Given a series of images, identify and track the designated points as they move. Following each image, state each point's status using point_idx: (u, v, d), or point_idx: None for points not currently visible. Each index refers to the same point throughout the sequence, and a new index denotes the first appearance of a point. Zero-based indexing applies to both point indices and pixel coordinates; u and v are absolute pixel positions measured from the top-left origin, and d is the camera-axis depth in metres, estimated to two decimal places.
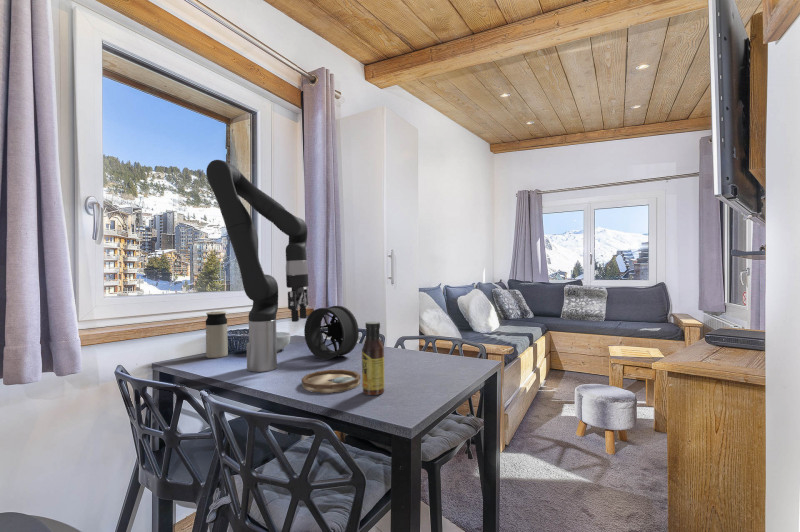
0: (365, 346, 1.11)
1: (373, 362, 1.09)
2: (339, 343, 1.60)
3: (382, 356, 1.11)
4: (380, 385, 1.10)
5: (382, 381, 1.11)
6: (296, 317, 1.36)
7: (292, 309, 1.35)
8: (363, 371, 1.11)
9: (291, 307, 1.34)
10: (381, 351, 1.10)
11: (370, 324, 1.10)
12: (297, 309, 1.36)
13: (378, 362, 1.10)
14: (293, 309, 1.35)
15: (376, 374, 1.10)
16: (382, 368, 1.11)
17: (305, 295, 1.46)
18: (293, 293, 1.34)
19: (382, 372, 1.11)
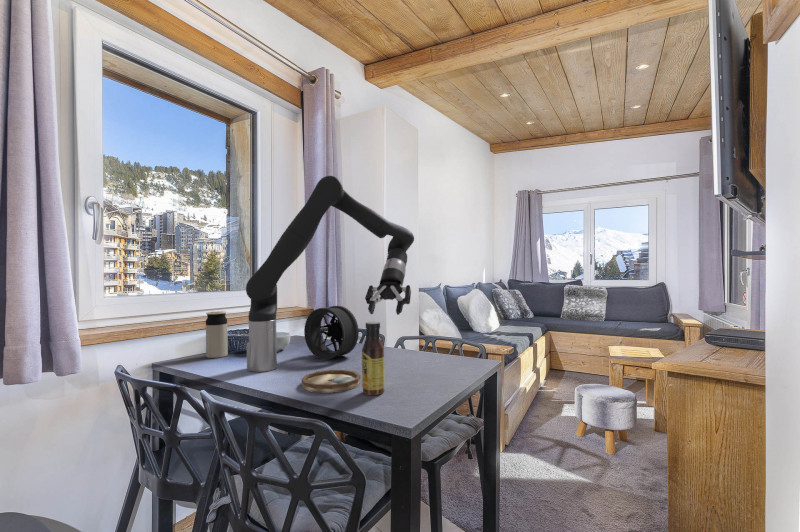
0: (365, 346, 1.11)
1: (373, 362, 1.09)
2: (339, 343, 1.60)
3: (382, 356, 1.11)
4: (380, 385, 1.10)
5: (382, 381, 1.11)
6: None
7: (406, 302, 1.25)
8: (363, 371, 1.11)
9: (408, 300, 1.25)
10: (381, 351, 1.10)
11: (370, 324, 1.10)
12: None
13: (378, 362, 1.10)
14: (406, 302, 1.25)
15: (376, 374, 1.10)
16: (382, 368, 1.11)
17: (372, 294, 1.31)
18: (410, 290, 1.29)
19: (382, 372, 1.11)
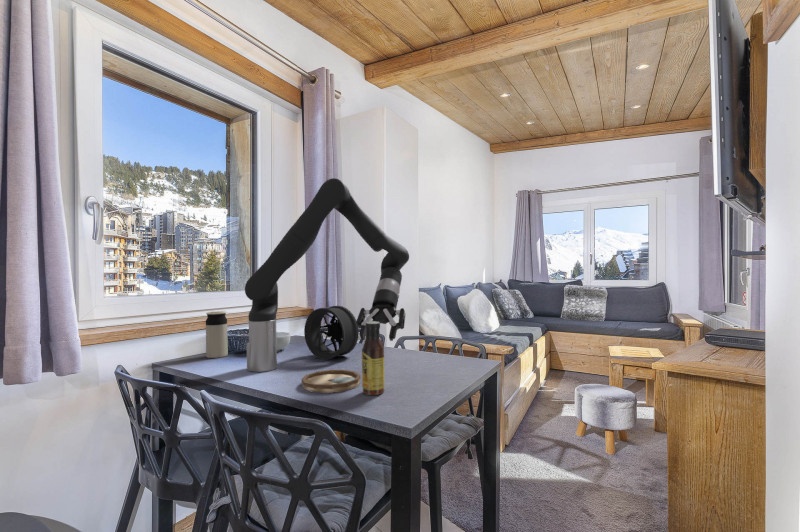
0: (365, 346, 1.11)
1: (373, 362, 1.09)
2: (339, 343, 1.60)
3: (382, 356, 1.11)
4: (380, 385, 1.10)
5: (382, 381, 1.11)
6: None
7: (399, 326, 1.17)
8: (363, 371, 1.11)
9: (402, 324, 1.17)
10: (381, 351, 1.10)
11: (370, 324, 1.10)
12: None
13: (378, 362, 1.10)
14: (400, 327, 1.17)
15: (376, 374, 1.10)
16: (382, 368, 1.11)
17: (364, 317, 1.23)
18: None
19: (382, 372, 1.11)
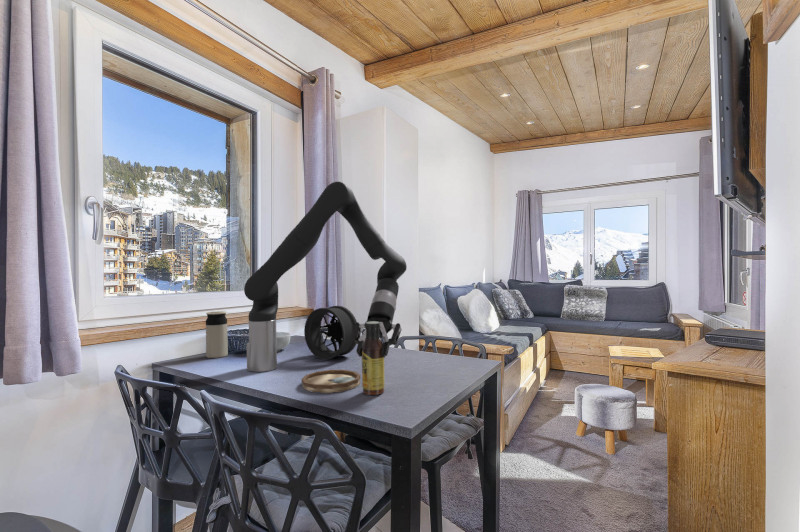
0: (365, 346, 1.11)
1: (373, 362, 1.09)
2: (339, 343, 1.60)
3: None
4: (380, 385, 1.10)
5: (382, 381, 1.11)
6: None
7: (392, 342, 1.12)
8: (363, 371, 1.11)
9: (395, 340, 1.13)
10: None
11: (370, 324, 1.10)
12: None
13: (378, 362, 1.10)
14: (392, 343, 1.13)
15: (376, 374, 1.09)
16: (382, 368, 1.11)
17: (360, 332, 1.18)
18: (401, 329, 1.16)
19: (382, 372, 1.11)
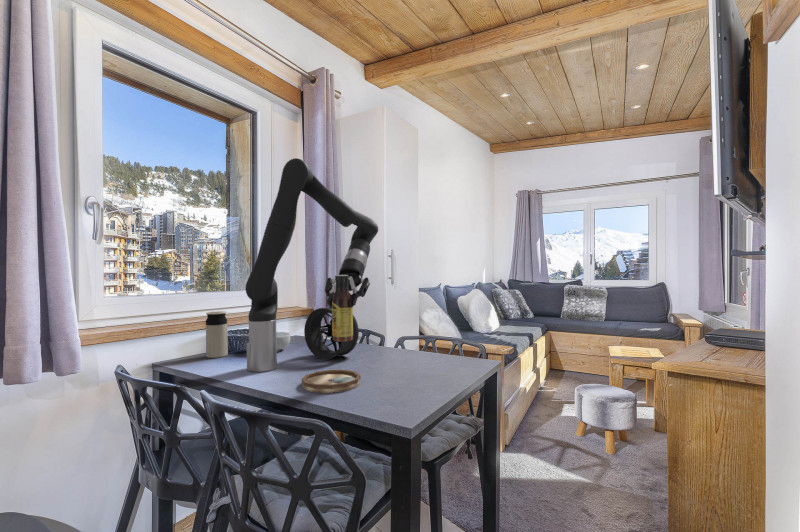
0: (334, 297, 1.19)
1: (341, 311, 1.18)
2: (339, 343, 1.60)
3: None
4: (348, 332, 1.19)
5: (350, 329, 1.20)
6: None
7: (360, 294, 1.21)
8: (333, 320, 1.20)
9: (363, 292, 1.21)
10: None
11: (339, 276, 1.19)
12: (356, 297, 1.22)
13: (346, 311, 1.18)
14: (360, 295, 1.21)
15: (345, 322, 1.18)
16: (350, 317, 1.20)
17: (332, 286, 1.27)
18: (369, 283, 1.25)
19: (350, 321, 1.20)
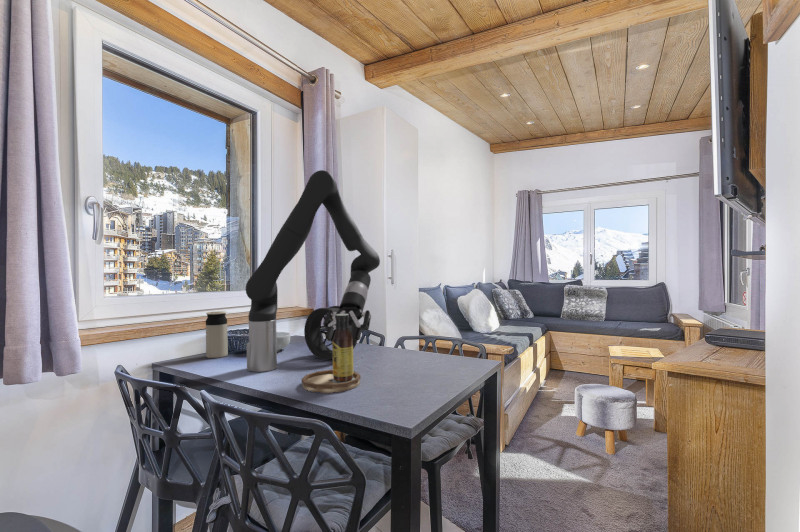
0: (335, 336, 1.20)
1: (342, 351, 1.18)
2: None
3: (351, 345, 1.20)
4: (349, 372, 1.19)
5: (351, 368, 1.20)
6: None
7: (364, 328, 1.21)
8: (333, 359, 1.20)
9: (367, 326, 1.22)
10: (349, 341, 1.19)
11: (339, 316, 1.19)
12: None
13: (346, 351, 1.19)
14: (364, 329, 1.21)
15: (345, 362, 1.19)
16: (351, 356, 1.20)
17: (332, 319, 1.27)
18: (370, 316, 1.25)
19: (351, 360, 1.20)
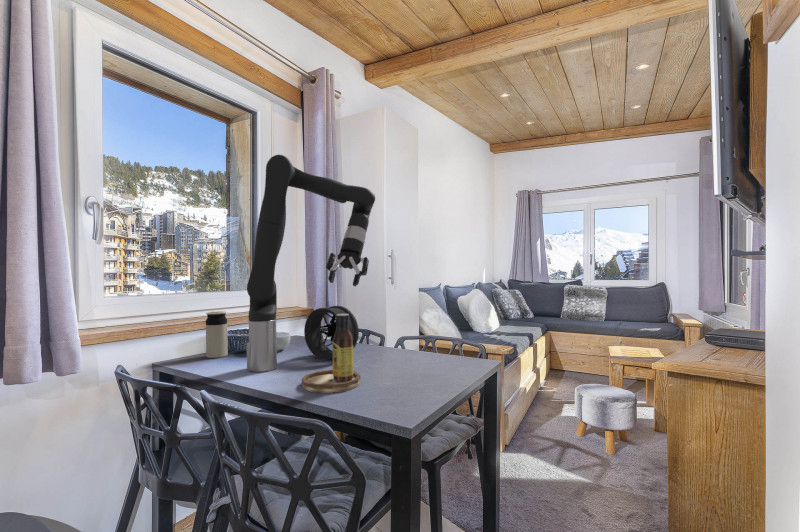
0: (335, 336, 1.20)
1: (342, 351, 1.18)
2: None
3: (351, 345, 1.20)
4: (349, 372, 1.19)
5: (351, 369, 1.20)
6: None
7: (362, 274, 1.37)
8: (333, 359, 1.20)
9: (365, 272, 1.37)
10: (350, 341, 1.20)
11: (339, 316, 1.19)
12: None
13: (347, 351, 1.19)
14: (362, 274, 1.37)
15: (345, 362, 1.19)
16: (351, 357, 1.20)
17: (333, 261, 1.42)
18: (368, 261, 1.39)
19: (351, 360, 1.20)
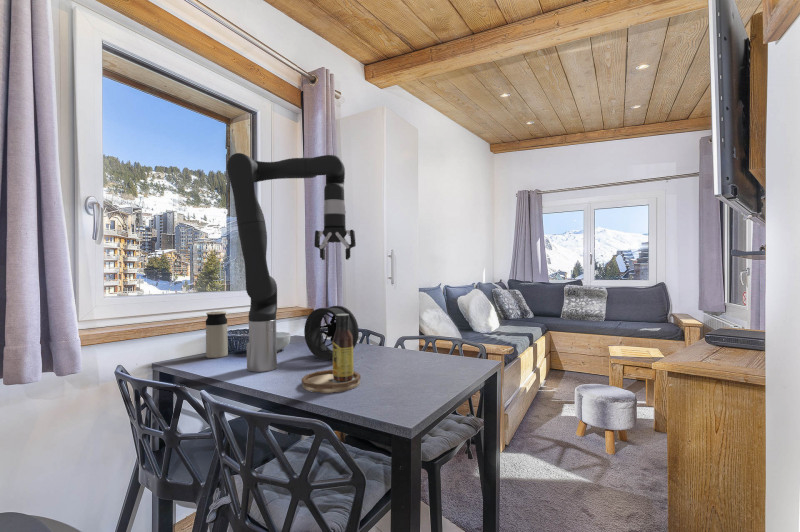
0: (335, 336, 1.20)
1: (342, 351, 1.18)
2: None
3: (351, 345, 1.20)
4: (349, 372, 1.19)
5: (351, 369, 1.20)
6: None
7: None
8: (333, 359, 1.20)
9: (354, 244, 1.41)
10: (350, 341, 1.20)
11: (339, 316, 1.19)
12: None
13: (347, 351, 1.19)
14: None
15: (345, 362, 1.19)
16: (351, 357, 1.20)
17: (319, 237, 1.43)
18: (354, 232, 1.42)
19: (351, 360, 1.20)
